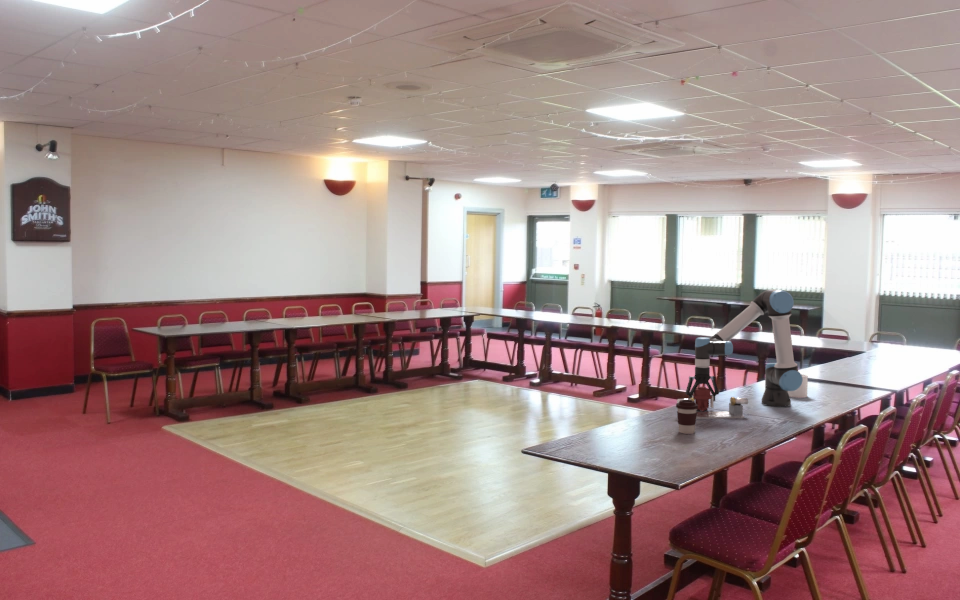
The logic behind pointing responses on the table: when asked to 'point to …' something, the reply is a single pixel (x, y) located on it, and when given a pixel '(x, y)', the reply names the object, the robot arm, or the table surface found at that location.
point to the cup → (800, 389)
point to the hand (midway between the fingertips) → (702, 407)
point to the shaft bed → (733, 412)
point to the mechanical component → (702, 398)
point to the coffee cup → (686, 416)
